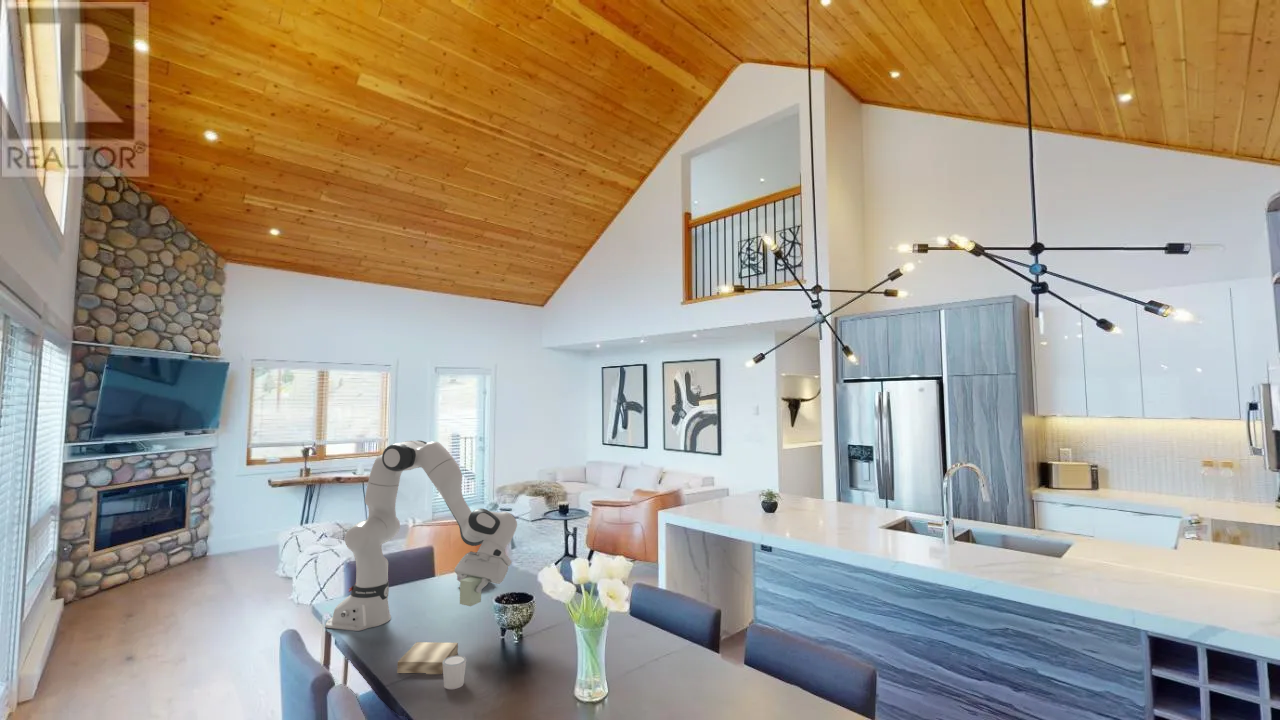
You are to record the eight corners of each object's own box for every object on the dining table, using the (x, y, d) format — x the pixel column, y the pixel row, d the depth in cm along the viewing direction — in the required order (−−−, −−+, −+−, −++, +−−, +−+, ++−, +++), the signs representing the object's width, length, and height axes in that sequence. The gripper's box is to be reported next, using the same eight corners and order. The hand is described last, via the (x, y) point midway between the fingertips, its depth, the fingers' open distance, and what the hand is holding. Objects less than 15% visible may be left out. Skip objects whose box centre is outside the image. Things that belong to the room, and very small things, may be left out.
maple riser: (397, 675, 173) (397, 661, 174) (416, 654, 187) (416, 642, 188) (441, 675, 173) (442, 662, 173) (457, 655, 187) (457, 642, 187)
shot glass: (470, 680, 169) (471, 657, 169) (456, 692, 162) (456, 667, 163) (451, 677, 171) (452, 653, 172) (436, 688, 165) (437, 663, 165)
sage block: (459, 603, 193) (460, 580, 193) (470, 599, 197) (470, 576, 198) (470, 606, 191) (471, 582, 191) (480, 601, 195) (481, 578, 196)
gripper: (463, 546, 206) (442, 581, 196) (507, 553, 197) (487, 590, 187) (471, 555, 210) (451, 590, 200) (515, 563, 200) (496, 599, 191)
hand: (469, 590), depth 194 cm, fingers closed on sage block, 5 cm apart
